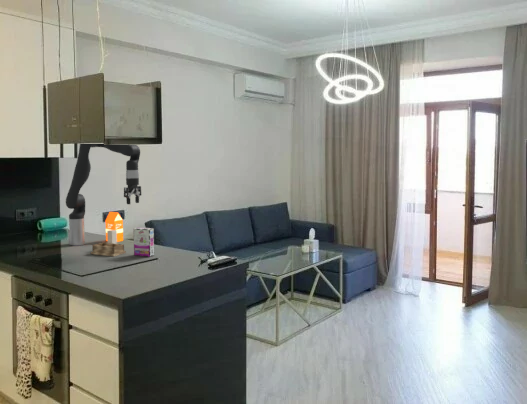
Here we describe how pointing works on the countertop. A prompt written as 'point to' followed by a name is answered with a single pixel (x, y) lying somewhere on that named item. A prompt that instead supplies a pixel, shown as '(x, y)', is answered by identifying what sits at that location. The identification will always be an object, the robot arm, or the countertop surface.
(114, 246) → the brown woven basket
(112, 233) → the clay bar
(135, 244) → the candy bar box
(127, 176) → the robot arm
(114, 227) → the orange juice
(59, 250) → the countertop surface
